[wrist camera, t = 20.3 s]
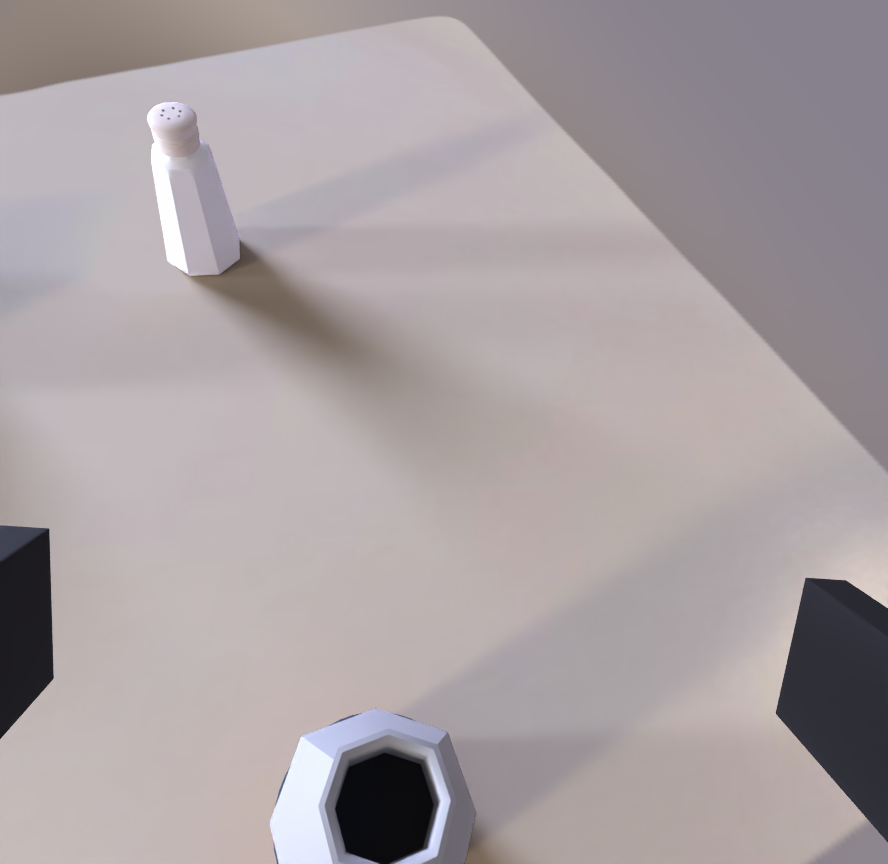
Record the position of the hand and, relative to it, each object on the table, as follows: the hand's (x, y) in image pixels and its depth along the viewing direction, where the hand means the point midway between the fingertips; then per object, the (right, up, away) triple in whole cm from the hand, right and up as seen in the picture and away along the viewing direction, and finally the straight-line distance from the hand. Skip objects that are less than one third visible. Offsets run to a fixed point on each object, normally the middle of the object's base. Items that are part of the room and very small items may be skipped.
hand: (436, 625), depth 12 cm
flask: (-2, -11, +12) cm, 16 cm away
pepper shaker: (-18, +16, +38) cm, 45 cm away
